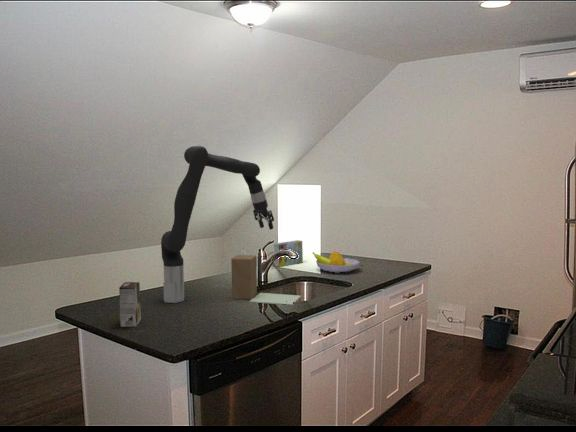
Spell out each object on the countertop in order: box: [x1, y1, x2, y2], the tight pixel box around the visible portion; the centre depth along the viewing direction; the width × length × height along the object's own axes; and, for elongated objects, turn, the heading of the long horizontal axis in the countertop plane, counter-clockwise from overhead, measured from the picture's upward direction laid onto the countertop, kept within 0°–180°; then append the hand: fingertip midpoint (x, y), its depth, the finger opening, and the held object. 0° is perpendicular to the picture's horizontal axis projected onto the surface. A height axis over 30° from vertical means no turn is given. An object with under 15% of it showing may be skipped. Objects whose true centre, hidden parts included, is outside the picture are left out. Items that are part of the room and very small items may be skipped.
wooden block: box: [230, 254, 258, 301], centre depth 239 cm, size 10×10×20 cm
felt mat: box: [248, 292, 302, 306], centre depth 236 cm, size 16×21×1 cm
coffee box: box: [118, 281, 142, 328], centre depth 199 cm, size 9×6×16 cm
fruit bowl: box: [312, 251, 360, 274], centre depth 302 cm, size 28×27×11 cm
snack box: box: [273, 239, 304, 268], centre depth 322 cm, size 21×6×15 cm, turn 133°
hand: (266, 228), depth 263 cm, fingers open, 8 cm apart
